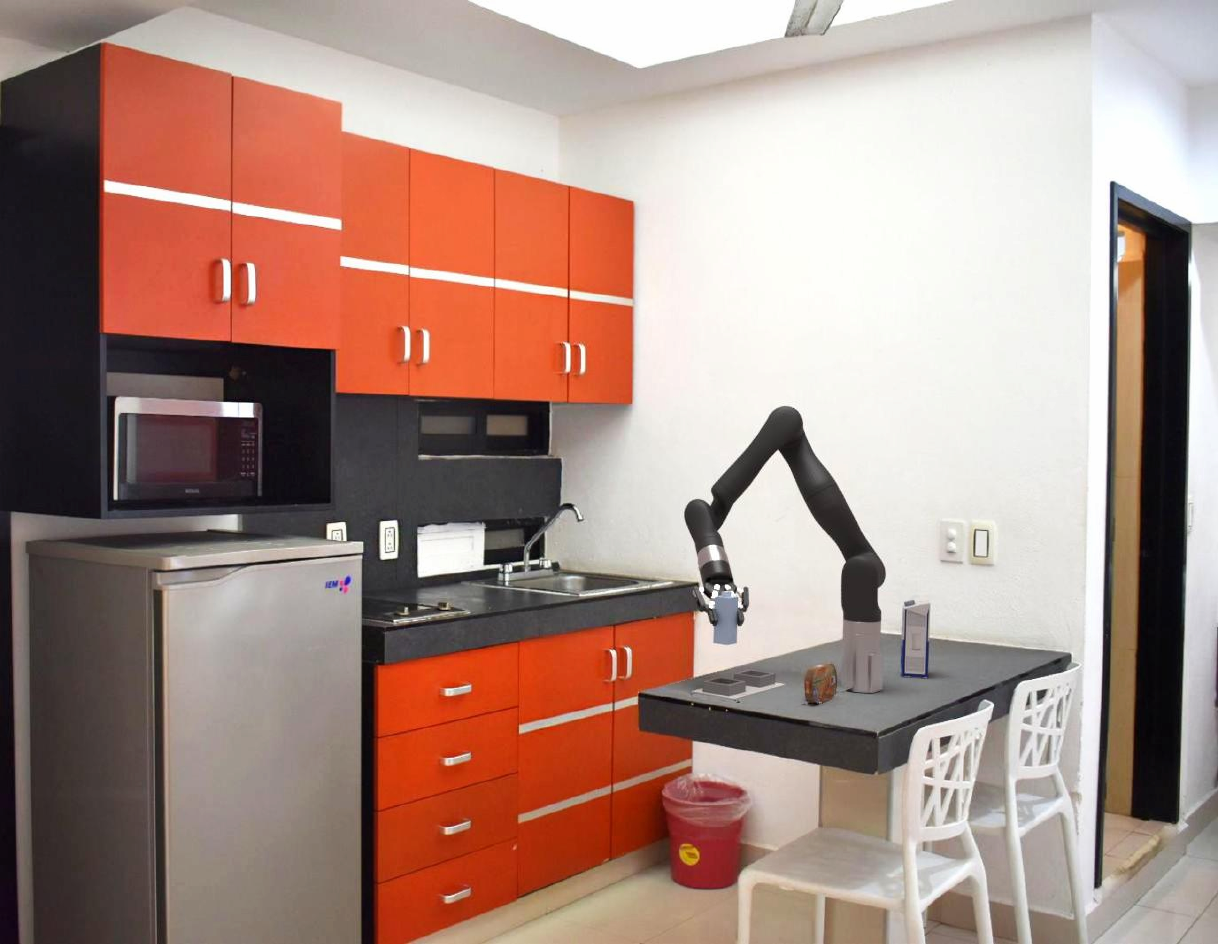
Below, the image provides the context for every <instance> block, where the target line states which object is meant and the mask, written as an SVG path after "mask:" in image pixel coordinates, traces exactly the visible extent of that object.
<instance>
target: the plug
mask: <svg viewBox="0 0 1218 944" xmlns="http://www.w3.org/2000/svg"><path fill="white" fill-rule="evenodd" d="M731 595H732V591H724V592H722V595H721V596H715V605H714V609H715V611H716V615H717V619H718V623H717V625H716V626H713V639H712V640H713V641H712V643H713V644H716V645H718V644H719V645H725V646H729V645H735V644H737V642H738V641H737V640H738V625H737V614H738V601H739V596H737V597H735V596H731Z"/></svg>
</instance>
